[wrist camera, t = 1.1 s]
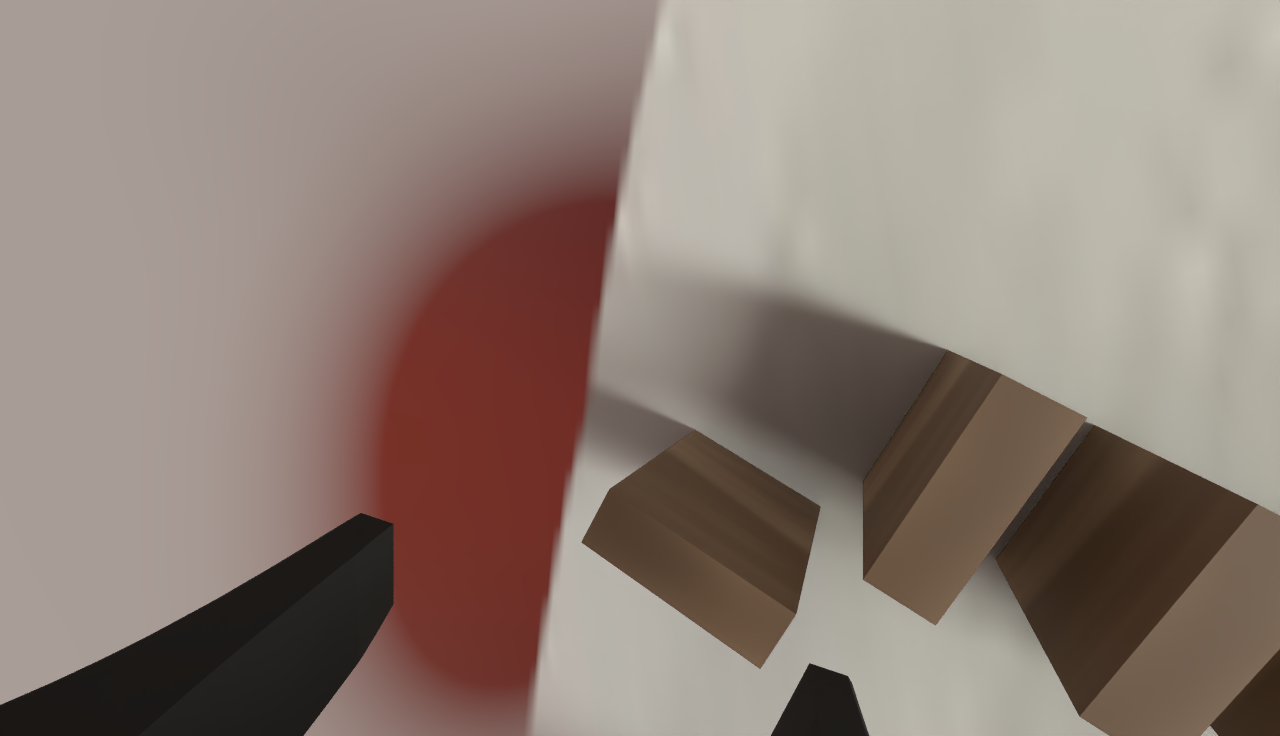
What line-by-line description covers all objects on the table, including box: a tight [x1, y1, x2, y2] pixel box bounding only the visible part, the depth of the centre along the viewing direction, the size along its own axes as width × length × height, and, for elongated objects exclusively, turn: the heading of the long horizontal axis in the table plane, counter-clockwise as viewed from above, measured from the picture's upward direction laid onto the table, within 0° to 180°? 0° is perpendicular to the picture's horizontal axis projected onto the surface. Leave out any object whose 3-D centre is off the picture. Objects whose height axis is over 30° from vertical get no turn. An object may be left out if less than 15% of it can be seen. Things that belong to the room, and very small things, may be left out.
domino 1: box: [582, 430, 820, 669], centre depth 18 cm, size 2×5×8 cm, turn 63°
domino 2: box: [863, 350, 1087, 625], centre depth 16 cm, size 2×5×8 cm, turn 153°
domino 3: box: [996, 425, 1280, 736], centre depth 15 cm, size 2×5×8 cm, turn 153°
